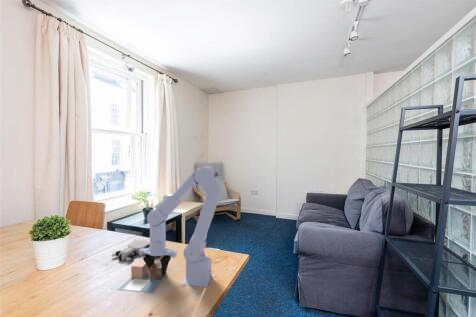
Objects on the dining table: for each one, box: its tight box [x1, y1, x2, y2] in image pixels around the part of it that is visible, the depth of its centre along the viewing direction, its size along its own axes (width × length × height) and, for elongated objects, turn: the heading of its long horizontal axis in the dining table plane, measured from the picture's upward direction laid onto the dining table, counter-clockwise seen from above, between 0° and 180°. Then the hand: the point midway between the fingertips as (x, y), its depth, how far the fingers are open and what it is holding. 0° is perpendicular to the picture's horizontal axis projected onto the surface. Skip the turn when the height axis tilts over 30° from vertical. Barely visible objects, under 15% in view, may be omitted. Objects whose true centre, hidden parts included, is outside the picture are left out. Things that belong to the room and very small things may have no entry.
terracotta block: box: [130, 259, 149, 278], centre depth 84 cm, size 4×4×4 cm
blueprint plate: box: [117, 272, 169, 294], centre depth 80 cm, size 13×12×1 cm
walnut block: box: [150, 261, 165, 280], centre depth 83 cm, size 4×4×4 cm
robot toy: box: [111, 238, 150, 262], centre depth 101 cm, size 12×4×15 cm
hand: (158, 273), depth 83 cm, fingers closed on walnut block, 4 cm apart
